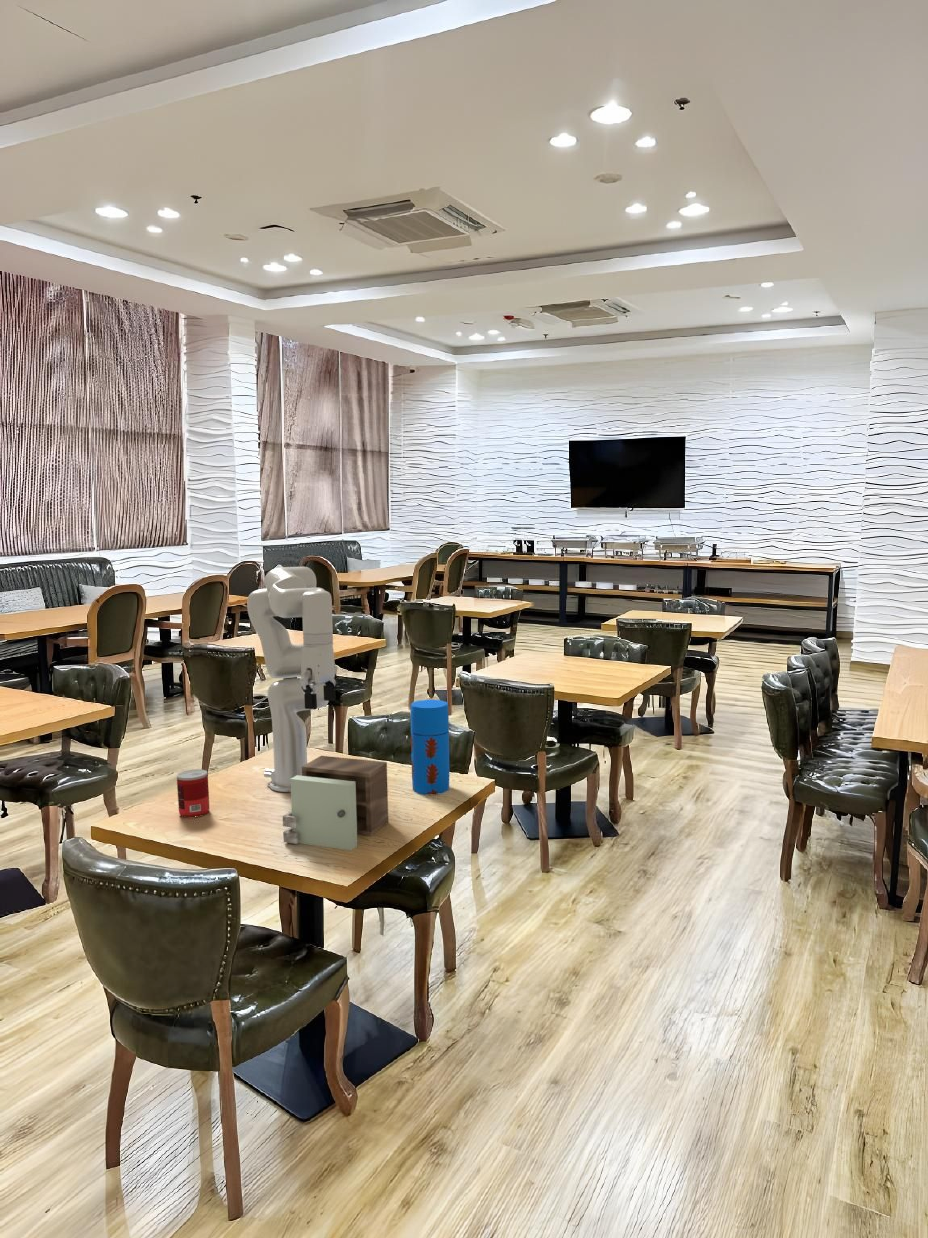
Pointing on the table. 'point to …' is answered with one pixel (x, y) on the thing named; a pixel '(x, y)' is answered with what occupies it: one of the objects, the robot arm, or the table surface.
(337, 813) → the door
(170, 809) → the table surface
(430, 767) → the thermos
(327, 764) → the cabinet
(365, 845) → the table surface
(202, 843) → the table surface
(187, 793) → the canned food
